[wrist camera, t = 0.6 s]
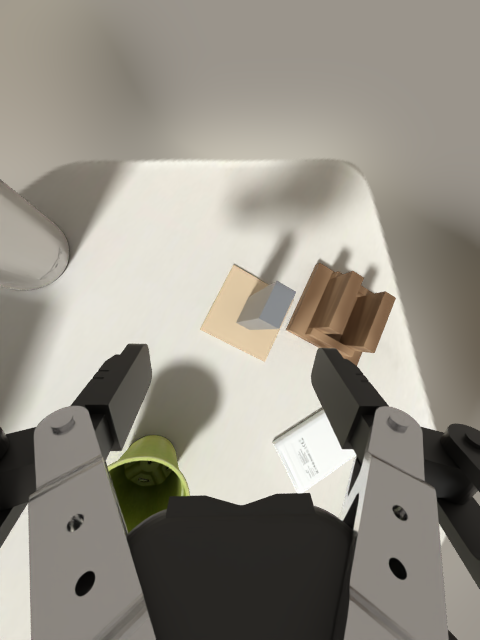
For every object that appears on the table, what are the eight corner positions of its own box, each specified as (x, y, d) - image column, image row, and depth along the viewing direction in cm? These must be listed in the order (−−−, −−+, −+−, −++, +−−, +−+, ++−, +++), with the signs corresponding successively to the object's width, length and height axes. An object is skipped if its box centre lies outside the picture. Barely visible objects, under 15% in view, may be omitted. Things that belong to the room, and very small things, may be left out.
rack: (285, 329, 33) (307, 329, 27) (315, 265, 35) (342, 251, 29) (351, 365, 35) (384, 371, 29) (376, 302, 37) (413, 296, 31)
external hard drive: (360, 442, 36) (294, 489, 33) (339, 396, 35) (270, 439, 32) (368, 447, 34) (299, 497, 31) (346, 399, 34) (274, 445, 31)
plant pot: (123, 413, 28) (95, 448, 19) (198, 428, 30) (202, 466, 21) (98, 492, 27) (56, 566, 18) (177, 502, 29) (172, 574, 20)
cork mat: (200, 329, 30) (200, 329, 30) (233, 265, 32) (233, 264, 32) (263, 361, 32) (264, 361, 32) (292, 299, 34) (293, 299, 33)
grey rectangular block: (235, 322, 31) (258, 318, 21) (248, 297, 32) (277, 280, 22) (249, 329, 32) (279, 328, 21) (262, 304, 32) (296, 291, 22)
